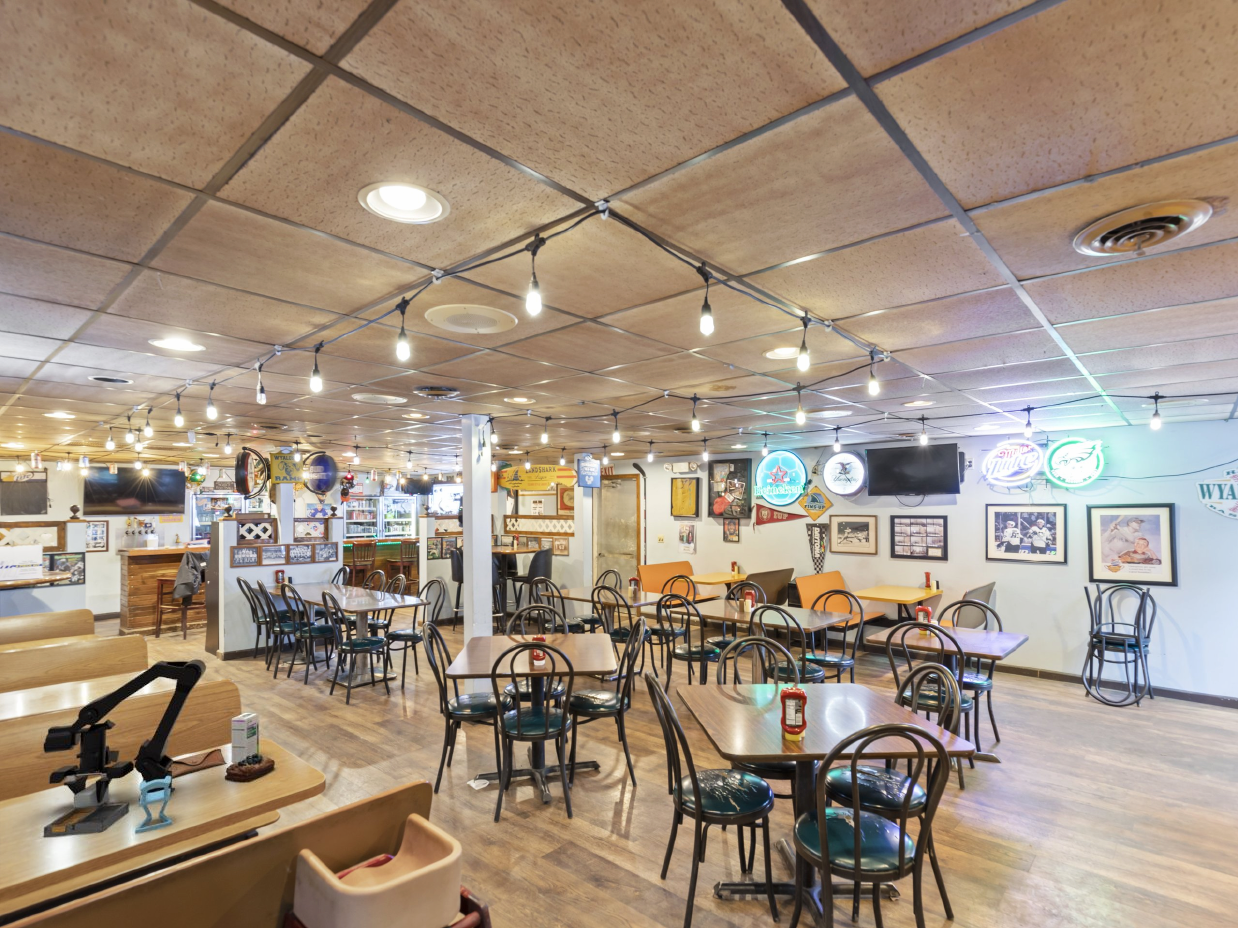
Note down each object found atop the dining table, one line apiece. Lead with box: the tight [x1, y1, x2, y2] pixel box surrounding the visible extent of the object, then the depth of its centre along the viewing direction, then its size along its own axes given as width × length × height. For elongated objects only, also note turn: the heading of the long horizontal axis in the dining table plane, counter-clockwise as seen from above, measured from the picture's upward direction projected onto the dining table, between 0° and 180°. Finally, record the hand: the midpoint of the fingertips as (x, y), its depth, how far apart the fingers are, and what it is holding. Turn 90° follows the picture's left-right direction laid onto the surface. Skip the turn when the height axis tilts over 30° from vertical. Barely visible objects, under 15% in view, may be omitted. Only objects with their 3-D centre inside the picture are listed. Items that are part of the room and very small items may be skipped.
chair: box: [134, 776, 173, 834], centre depth 168 cm, size 8×8×12 cm
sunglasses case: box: [168, 748, 228, 780], centre depth 204 cm, size 18×7×7 cm
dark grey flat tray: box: [43, 802, 130, 838], centre depth 168 cm, size 14×11×2 cm
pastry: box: [224, 754, 276, 783], centre depth 198 cm, size 11×12×6 cm
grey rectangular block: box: [73, 782, 110, 808], centre depth 178 cm, size 4×8×5 cm, turn 8°
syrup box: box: [231, 712, 260, 763], centre depth 210 cm, size 6×6×14 cm
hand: (91, 802), depth 178 cm, fingers closed on grey rectangular block, 4 cm apart
